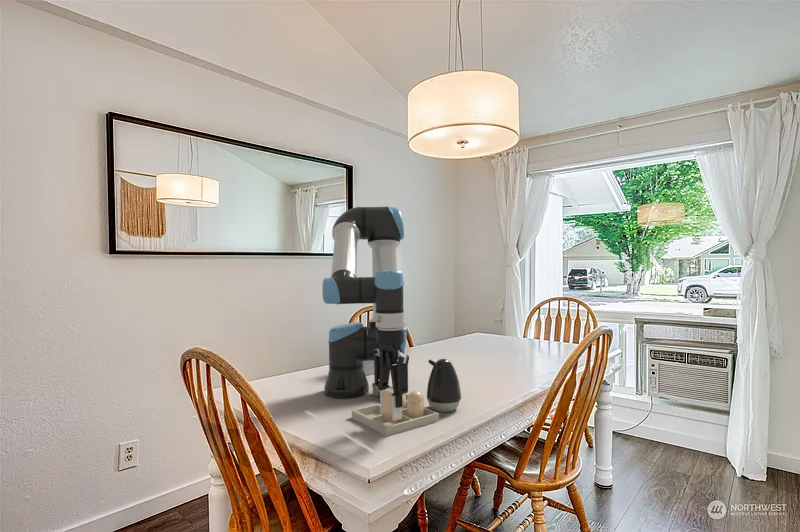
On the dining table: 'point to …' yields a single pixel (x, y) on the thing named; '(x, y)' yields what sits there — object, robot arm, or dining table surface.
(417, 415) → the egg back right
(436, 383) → the pump dispenser
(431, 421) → the egg tray
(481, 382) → the dining table surface
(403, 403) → the beige domed cylinder
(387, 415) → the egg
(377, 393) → the mineral rock
